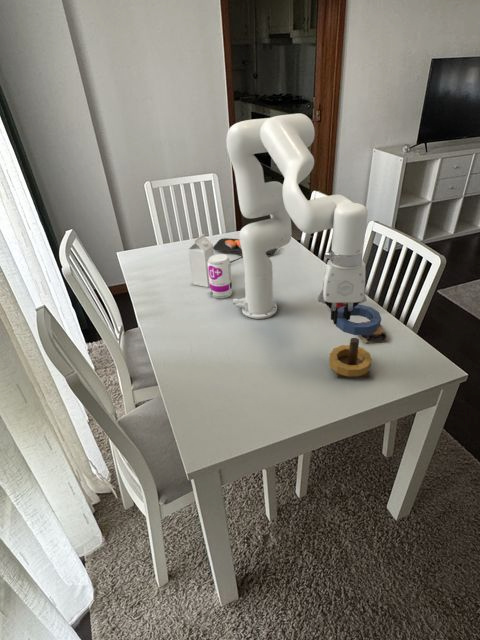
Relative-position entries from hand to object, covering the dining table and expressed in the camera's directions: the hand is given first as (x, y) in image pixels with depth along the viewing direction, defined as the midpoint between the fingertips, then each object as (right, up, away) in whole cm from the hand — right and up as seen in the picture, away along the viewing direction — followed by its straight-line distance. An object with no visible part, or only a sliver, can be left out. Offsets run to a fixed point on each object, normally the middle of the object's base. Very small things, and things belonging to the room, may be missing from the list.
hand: (339, 321), depth 110 cm
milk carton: (-44, +20, +56) cm, 74 cm away
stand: (+5, -13, +10) cm, 17 cm away
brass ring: (+5, -12, +9) cm, 15 cm away
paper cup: (+7, +6, +36) cm, 37 cm away
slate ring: (+5, 0, 0) cm, 5 cm away
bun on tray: (+15, -2, +24) cm, 28 cm away
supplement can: (-36, +14, +48) cm, 61 cm away
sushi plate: (-30, +35, +76) cm, 89 cm away
